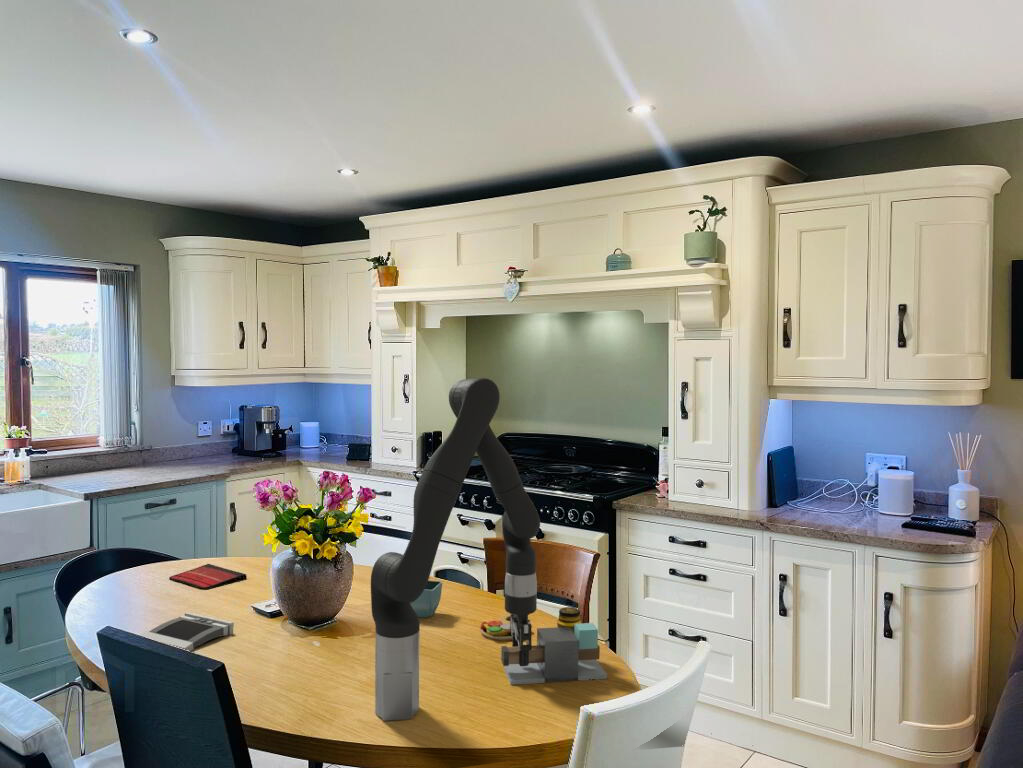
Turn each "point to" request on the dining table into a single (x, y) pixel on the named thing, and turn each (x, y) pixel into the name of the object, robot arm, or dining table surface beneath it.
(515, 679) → the base plate
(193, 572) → the binder
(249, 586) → the dining table surface
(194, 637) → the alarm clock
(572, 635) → the bearing block
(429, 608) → the flower pot
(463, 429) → the robot arm
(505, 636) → the toy food set
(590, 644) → the block
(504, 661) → the shaft
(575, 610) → the condiment
